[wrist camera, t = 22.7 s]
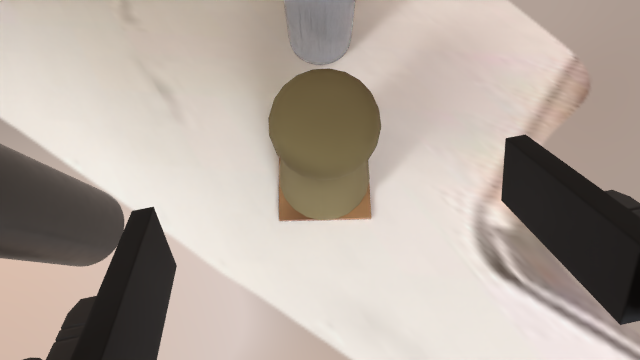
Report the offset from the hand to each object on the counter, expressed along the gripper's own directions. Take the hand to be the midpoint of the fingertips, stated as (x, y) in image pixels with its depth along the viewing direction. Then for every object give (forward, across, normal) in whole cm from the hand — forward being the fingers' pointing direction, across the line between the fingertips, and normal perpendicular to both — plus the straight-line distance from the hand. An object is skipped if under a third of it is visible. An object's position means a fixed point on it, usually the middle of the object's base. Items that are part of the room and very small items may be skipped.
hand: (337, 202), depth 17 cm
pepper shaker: (+12, +1, -6) cm, 13 cm away
